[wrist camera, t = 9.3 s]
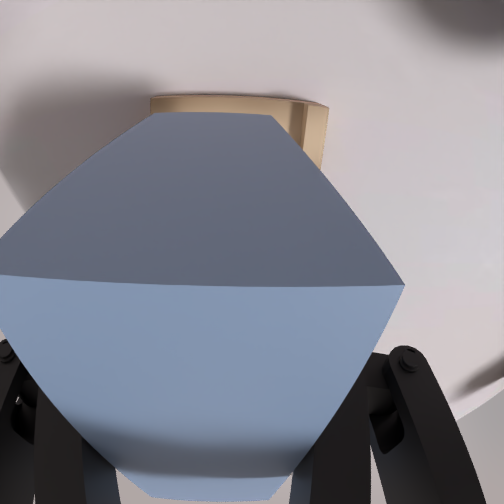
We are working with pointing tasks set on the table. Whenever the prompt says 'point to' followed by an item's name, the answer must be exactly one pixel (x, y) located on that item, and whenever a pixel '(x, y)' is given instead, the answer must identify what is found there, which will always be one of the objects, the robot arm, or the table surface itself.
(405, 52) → the table surface
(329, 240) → the slim book
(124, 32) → the table surface
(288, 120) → the shelf
